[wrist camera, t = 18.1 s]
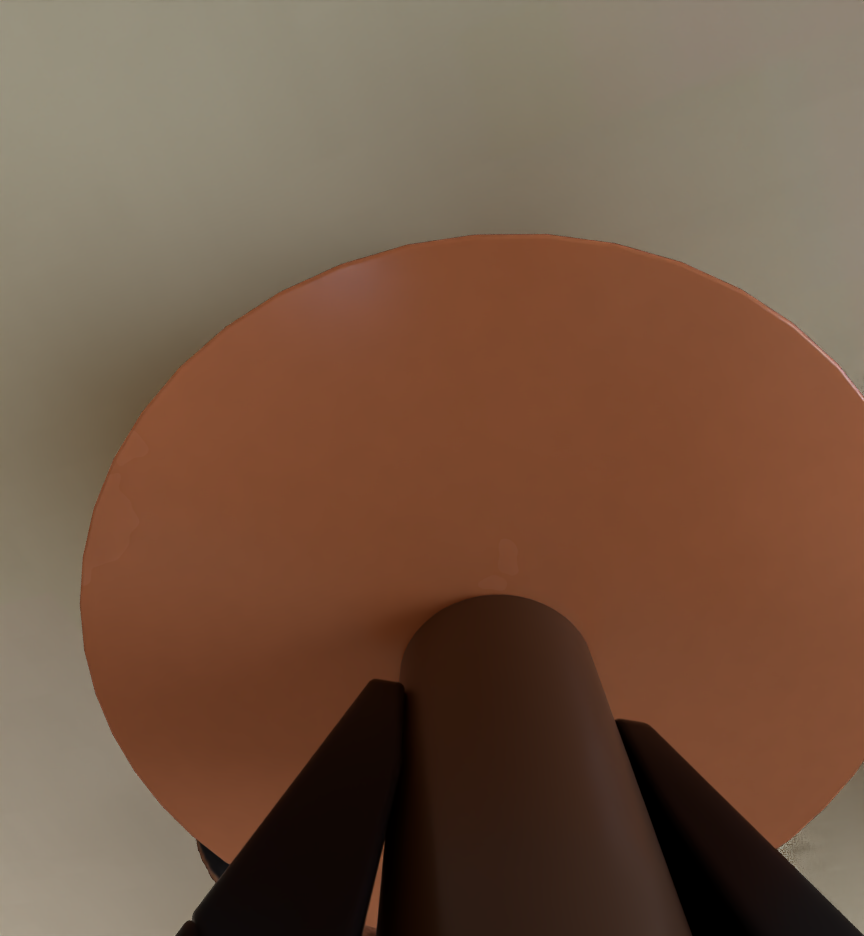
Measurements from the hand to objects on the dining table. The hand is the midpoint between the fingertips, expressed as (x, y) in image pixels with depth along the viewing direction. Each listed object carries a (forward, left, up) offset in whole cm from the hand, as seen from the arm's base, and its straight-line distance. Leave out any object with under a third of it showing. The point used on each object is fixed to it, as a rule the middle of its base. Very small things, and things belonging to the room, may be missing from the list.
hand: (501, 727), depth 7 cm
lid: (0, 0, -1) cm, 1 cm away
